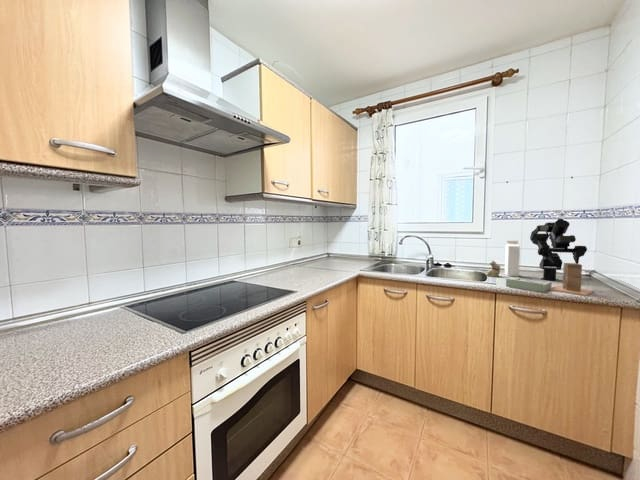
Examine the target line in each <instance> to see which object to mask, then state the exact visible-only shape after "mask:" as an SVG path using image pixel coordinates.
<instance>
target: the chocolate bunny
mask: <svg viewBox="0 0 640 480" xmlns="http://www.w3.org/2000/svg"><path fill="white" fill-rule="evenodd" d="M489 266H491V268H490V269H488V271H486V274H485V277H490V278H492V277H493V278H495V277H496V278H498V277H499V276H500V275H499V274H500V273H501V265H499V264H498V263H496V261H494V260H492V261H491V262H489Z"/></svg>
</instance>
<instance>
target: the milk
mask: <svg viewBox="0 0 640 480" xmlns="http://www.w3.org/2000/svg"><path fill="white" fill-rule="evenodd" d="M504 248H505V249H504V275H505V276H507V277H517V278H520V252H521V246H520V244H519V240H507V241H506V244H505V245H504Z"/></svg>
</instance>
